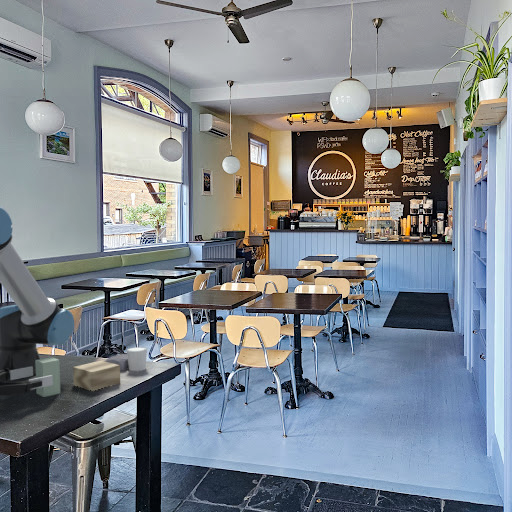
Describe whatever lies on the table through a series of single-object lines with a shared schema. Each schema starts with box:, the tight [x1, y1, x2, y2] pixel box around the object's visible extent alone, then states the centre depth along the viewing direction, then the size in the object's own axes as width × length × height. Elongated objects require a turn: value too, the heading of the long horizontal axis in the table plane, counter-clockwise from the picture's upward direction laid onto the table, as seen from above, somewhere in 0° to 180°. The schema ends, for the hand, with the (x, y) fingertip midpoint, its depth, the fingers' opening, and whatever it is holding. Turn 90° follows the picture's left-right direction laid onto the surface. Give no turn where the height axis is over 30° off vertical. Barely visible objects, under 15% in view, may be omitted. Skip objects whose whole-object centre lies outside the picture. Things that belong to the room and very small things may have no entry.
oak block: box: [72, 360, 121, 392], centre depth 169 cm, size 10×10×6 cm
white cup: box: [126, 346, 148, 372], centre depth 186 cm, size 7×7×7 cm
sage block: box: [35, 356, 61, 398], centre depth 160 cm, size 5×5×10 cm
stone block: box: [104, 353, 129, 372], centre depth 190 cm, size 12×5×10 cm
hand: (42, 375), depth 158 cm, fingers open, 13 cm apart
